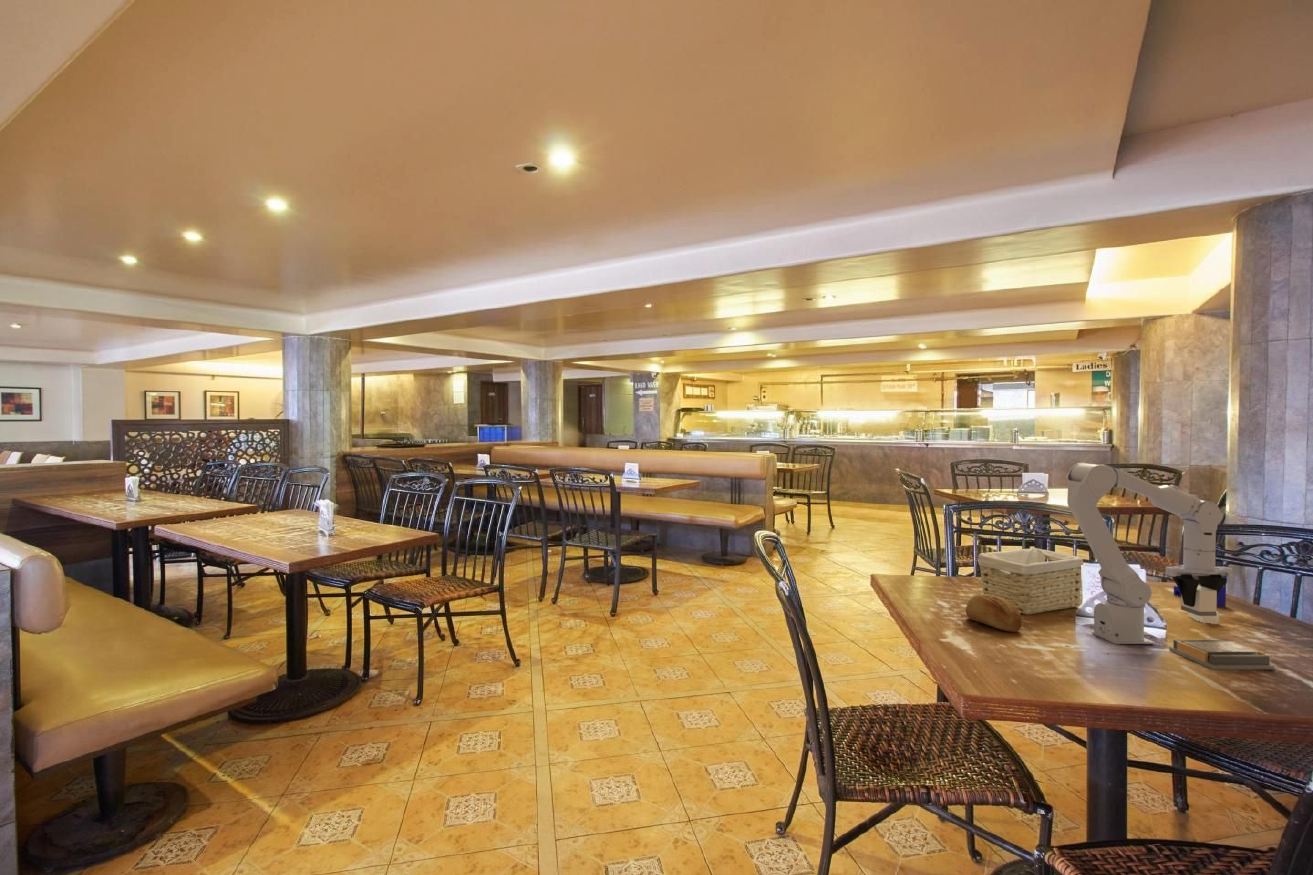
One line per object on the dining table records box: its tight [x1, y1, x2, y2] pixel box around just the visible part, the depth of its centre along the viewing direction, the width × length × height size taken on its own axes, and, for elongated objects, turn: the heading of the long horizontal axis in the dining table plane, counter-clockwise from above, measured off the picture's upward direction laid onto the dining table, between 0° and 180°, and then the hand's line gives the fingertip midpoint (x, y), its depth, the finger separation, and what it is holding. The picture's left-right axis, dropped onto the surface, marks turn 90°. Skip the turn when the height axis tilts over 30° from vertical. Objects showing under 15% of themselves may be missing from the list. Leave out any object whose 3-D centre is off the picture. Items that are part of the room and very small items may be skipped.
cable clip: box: [1173, 585, 1227, 607], centre depth 178 cm, size 12×4×6 cm, turn 1°
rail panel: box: [1169, 639, 1275, 670], centre depth 133 cm, size 13×11×3 cm
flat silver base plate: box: [1183, 641, 1258, 656], centre depth 133 cm, size 11×6×1 cm, turn 90°
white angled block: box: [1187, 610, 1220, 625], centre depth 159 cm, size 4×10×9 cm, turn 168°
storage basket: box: [978, 547, 1084, 615], centre depth 174 cm, size 24×16×15 cm
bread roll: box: [965, 593, 1023, 632], centre depth 156 cm, size 10×15×8 cm, turn 20°
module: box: [1180, 585, 1218, 616], centre depth 144 cm, size 4×5×6 cm
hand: (1198, 605), depth 144 cm, fingers closed on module, 4 cm apart
